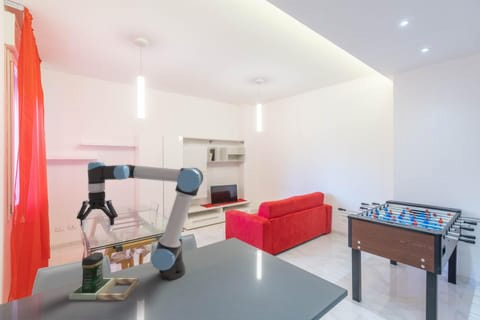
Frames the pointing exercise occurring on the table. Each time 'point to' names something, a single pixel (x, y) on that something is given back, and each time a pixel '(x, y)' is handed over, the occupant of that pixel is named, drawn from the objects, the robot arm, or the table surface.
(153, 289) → the table surface
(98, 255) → the coffee jar
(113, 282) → the birch frame
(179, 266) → the robot arm
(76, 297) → the green frame
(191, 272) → the table surface
